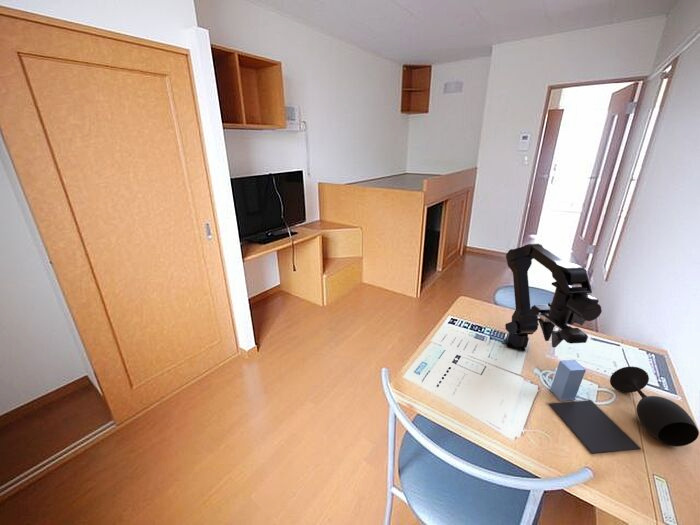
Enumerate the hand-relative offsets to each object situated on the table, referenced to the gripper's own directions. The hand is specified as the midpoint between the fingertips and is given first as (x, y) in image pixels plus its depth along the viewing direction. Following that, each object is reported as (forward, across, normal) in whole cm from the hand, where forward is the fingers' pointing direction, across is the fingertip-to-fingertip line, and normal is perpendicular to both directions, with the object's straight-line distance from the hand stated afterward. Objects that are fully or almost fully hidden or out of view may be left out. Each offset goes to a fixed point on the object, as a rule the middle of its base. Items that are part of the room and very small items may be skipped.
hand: (550, 343), depth 103 cm
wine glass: (+7, -11, -20) cm, 24 cm away
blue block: (+12, -10, 0) cm, 16 cm away
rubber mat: (+12, -22, 0) cm, 25 cm away
